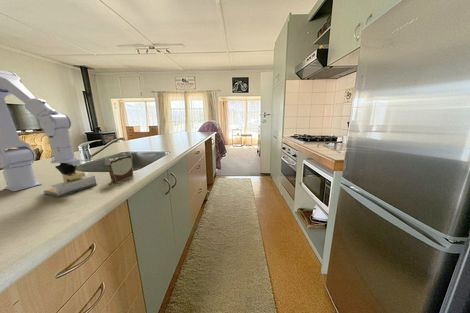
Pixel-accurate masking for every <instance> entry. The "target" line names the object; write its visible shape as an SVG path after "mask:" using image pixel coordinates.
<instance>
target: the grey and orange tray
mask: <svg viewBox="0 0 470 313" xmlns="http://www.w3.org/2000/svg"><path fill="white" fill-rule="evenodd" d="M97 185H98V184H97V179H96V175H94V174H93V175H91V174H87V175H85V176H84V177H80V178H76V179H73V180H69V181H66V182H64V181H63V182H62V181H61V182H59V183H56V184H55V183H54V184H51V185H50V187H51V188H50V189H46V190H43V194H44V195H48V196H52V197H55V198H62V197H65V196H68V195H71V194H74V193H78V192H80V191H83V190H86V189H89V188H92V187H94V186H97Z"/></svg>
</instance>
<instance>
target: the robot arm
mask: <svg viewBox="0 0 470 313" xmlns="http://www.w3.org/2000/svg"><path fill="white" fill-rule="evenodd" d="M11 95H13V96H14V97H15V98H17V99H18V100H20V101H21V102H22V103H24V108H25V110H27V111H28V112H29V113H30V114H31V115H33V116H34V117H35V118H36V119H37V120H38V121H39V126H40V128H41V129H42V130H43V131H44V134H45V136H47V138H48V140H49V145H50V150H51V153H52V156H53V157H52V158H51V160H50V161H49V162H50V164H59V165H56V166H54V167H55V169H56V170H58V172H60V174H61V175H62V174H65V173H68V172H73V171H76V169H77V167H78V166H79V165H81V162H80V159H79V158H77V157H75V156H76V155H75V153H74V148H73V144H72V141H71V134H70V131H69V129H71V126H72V121H71V118H70V117H69V116H68V115H67V114H66V113H60V112H58V111H57V110H56V109H54V108H53V107H52V106H50V104H48V103H47V101H46V100H45V99H42V98H36V97H35V96H34V95H33V94H32V93H31V92H30V91H29V90H28V89H27V87H25V85H24V84H22V78H21V77H19V76H18V75H17V74H16V73H15V72H13V71H6V70H1V69H0V169H3V171H2V174H3V175H2V176H3V178H4V180H5V184H6V186H4V187H3V189H5V190H8V191H12V192H17V191H21V190H25V189H28V188H32V187H33V188H34V187H35V186H40V185H42V184H43V183H42V182H39V181H37V178H36V175H35V171H34V168H33V164H34V161H35V160H36V157H37V156H36V152H35V150H34V149H33V148H32V147H31V144H30V143H28V142H26V141H25V140H21V139H20V136H19V134H18V131H17V128H16V126H15V123H14V121H13V119H12V116H11V114H10V111H9V108H8V105H7V103H6V100H5V98H6V97H7V96H11Z"/></svg>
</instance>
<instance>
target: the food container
mask: <svg viewBox="0 0 470 313" xmlns="http://www.w3.org/2000/svg"><path fill="white" fill-rule="evenodd" d="M133 158H134V157H133V154H132V153H123V154H117V155H112V156H108V157H106V158H104V163H103V164H104V165H105V166H106V167H107V170H108V173H109V176H110V180H111V182H112V183H113V184H117V183H120V182H122V180H123V181H124V180H127V179H129V178H131V176H132V177H133V176H134V168H133V166H134V165H133Z"/></svg>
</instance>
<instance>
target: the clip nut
mask: <svg viewBox="0 0 470 313" xmlns="http://www.w3.org/2000/svg"><path fill="white" fill-rule="evenodd" d="M61 175H62V180H63V182H66V181H69V180H73V179H76V178H80V177H84V176H86V175H85V172H84V171H81V170H75V171H73V172H68V173H65V174H61Z"/></svg>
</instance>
